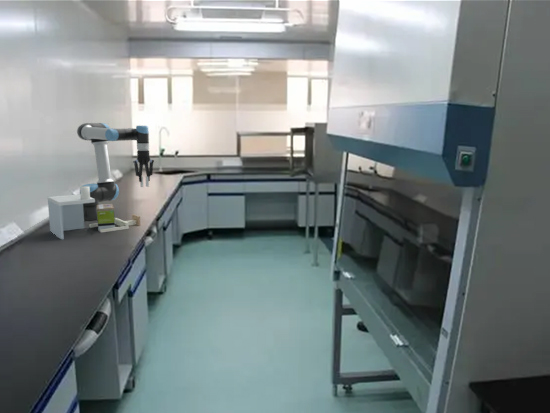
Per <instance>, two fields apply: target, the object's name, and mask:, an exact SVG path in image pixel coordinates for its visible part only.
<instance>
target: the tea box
mask: <svg viewBox="0 0 550 413" xmlns="http://www.w3.org/2000/svg"><path fill="white" fill-rule="evenodd" d="M115 218H116V217H115V207H114V205H113V203H103V204H99V205H97V220H96V221H97V223H98V227H97V230H98V232H100V229H107V228H114V227H116V225H115Z"/></svg>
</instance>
